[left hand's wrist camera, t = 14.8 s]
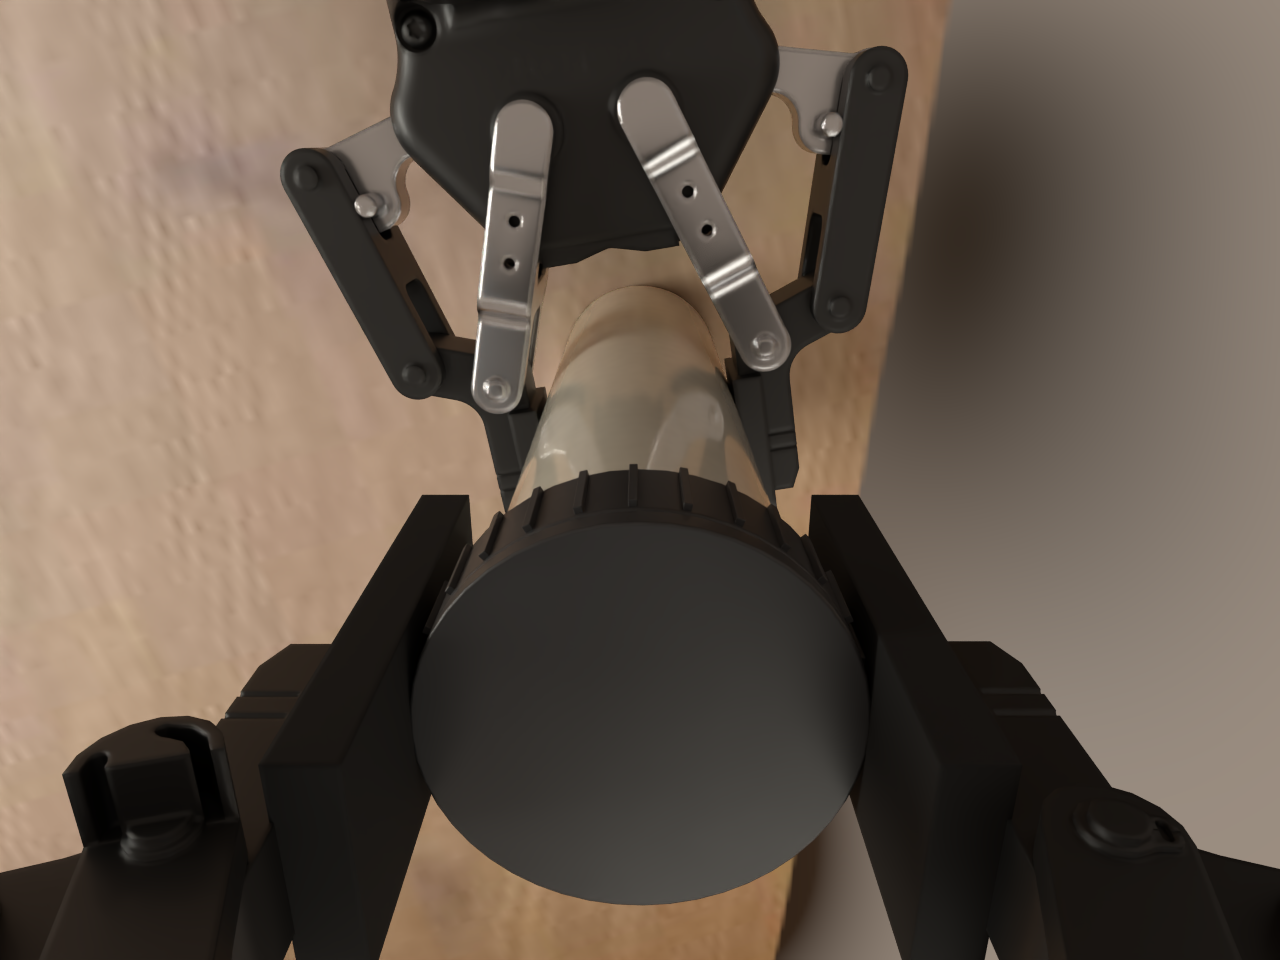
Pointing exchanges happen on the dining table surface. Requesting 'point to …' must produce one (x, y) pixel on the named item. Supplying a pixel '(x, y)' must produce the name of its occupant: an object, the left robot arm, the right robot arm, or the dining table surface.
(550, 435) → the jar
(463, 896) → the dining table surface
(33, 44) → the dining table surface
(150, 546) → the dining table surface
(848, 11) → the dining table surface
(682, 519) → the lid
